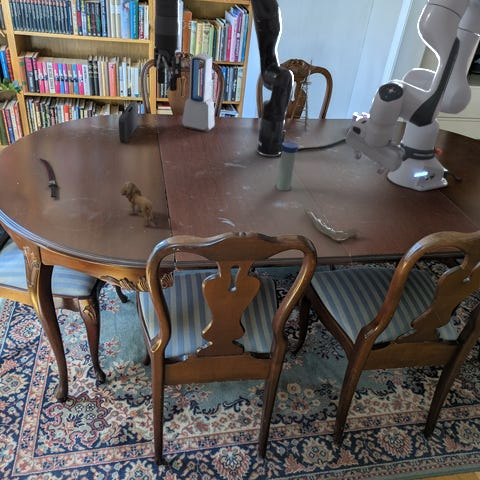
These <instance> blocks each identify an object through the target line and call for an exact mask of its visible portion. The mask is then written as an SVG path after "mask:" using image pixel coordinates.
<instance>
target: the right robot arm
mask: <svg viewBox="0 0 480 480" xmlns="http://www.w3.org/2000/svg"><path fill="white" fill-rule="evenodd" d="M417 32H418V35H419V36H420V38H421V40H422V41H423V42H424V44H426V46H427V47H428V48H430V49H431V51H433V52H434V53H435V55H436V57H437V59H438V65H437V69H436V72H435V71H433V70H430V69H427V68H411V69H409V71H407V72H406V73H405V74H404V76H403V77H402V80H399V79H390V80H389V81H387V82H385V83H383V84H381V85H380V86H379V87H378V88H377V90H376V92H375V94H374V97H373V99H372V101H371V104H370V108H369V112H368V114H369V117H365V116H363V117H361V116H360V117H361V118H359V119H358V120H356V121H355V122H354V123H353V124H352V125H351V124H350V126H351V127H350V126H349V129H348V130H347V132H346V136H345V139H346V141H345V142H346V144H347V145H349V146H350V147H352V149H353V153H354V159H356V160H357V161H359V160H360V159H361V158H362V157H363V155H364V156H366V157H368V158H369V159H371V160H372V161H374V162H375V163H377V164H378V165H380V167H379V168H377V171H376V173H377V174H378V175H383V173H384V172H385V170H387V171H388V173H387V175H386V177H387V178H388V180H389V181H390V182H392V183H394V184H395V185H398V186H401V187H405V188H409V189H413V190H415V191H419V192H425V191H429V190H433V189H438V188H444V187H447V186H448V184H449V183H448V181H447V180H446V178H447V177H448V175H450V176H451V177H453V179H454V180H455V181H462V179H463V178H462V177H457V176H456V174H455V173H452V172H449V170H448V169H446V168H445V167H444V166H443V164H441V162H440V161H439V160H438V159H437V157H436V156H441V155H442V152H443V150H442V149H440V148H439V147H435V144H436V141H437V139H438V135H439V132H440V122H439V121H438V120H437V117H438V116H439V113H444V114H448V115H449V114H451V115H457V114H460V113H461V112H463V111H464V110H465V109H466V108H467V107H468V106H469V104H470V102H471V99H472V89H471V87H470V84H469V82H468V81H469V80H468V66H469V62H470V58H471V56H472V54H473V52H474V50H475V48H476V47H475V46H476V45H477V42H478V40H479V38H480V0H427V2H426V4H425V5H424V7H423V9H422V12H421V14H420V16H419V18H418V22H417ZM399 118H401V119H403V120H405V121H406V125H405V129H404V133H403V136H402V140H400V143H399V145H398V144H397V143H396V142H394V141H392V139H393V137H394V133H395V130H396V123H397V122H398V120H399ZM362 154H363V155H362ZM435 154H436V156H435Z"/></svg>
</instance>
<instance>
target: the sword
mask: <svg viewBox="0 0 480 480" xmlns="http://www.w3.org/2000/svg"><path fill="white" fill-rule="evenodd" d="M40 161H41V162H42V163H43V165H44V166H45V169H46V173H47V176H48V185H47V188H50V198H56V197H57V189H56V188H57V187H59V185H58V184H57V183H56V180H55V176H54V172H53V169H52V167H51V164H50V163H49V161H48V160H46V159H43V158H40Z"/></svg>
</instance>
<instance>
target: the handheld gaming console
mask: <svg viewBox="0 0 480 480" xmlns="http://www.w3.org/2000/svg"><path fill="white" fill-rule="evenodd" d="M138 104H139V103H138V101H131V102H130V103H129V104H128V105H127V106H126V107H125V109H124V110H123V111H122V112H121V114H120V115H119V117H118V122H117V123H118V137H119V142H120V143H127V142H128V140H129V139H130V137H131V136H132V134H133V133H134V131H136V129H137V127H138V125H139V105H138Z"/></svg>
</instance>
